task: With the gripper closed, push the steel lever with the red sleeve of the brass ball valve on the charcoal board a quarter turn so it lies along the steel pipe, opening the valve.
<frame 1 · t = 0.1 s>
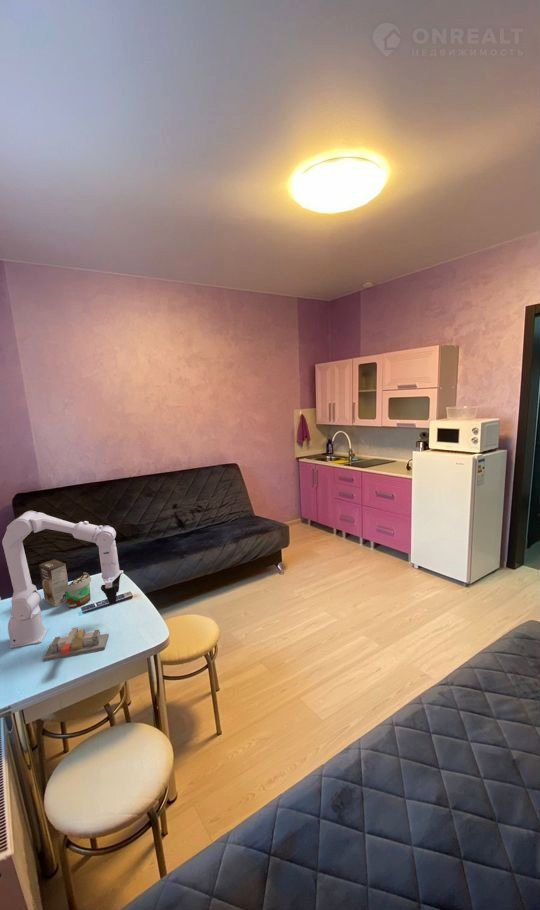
hand: (114, 597, 136), 10 cm above the table, tool pointing down, fingers open, 7 cm apart
coffee box: (57, 601, 156), on the table
food container: (83, 602, 153), on the table
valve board: (77, 648, 125), on the table
pipe and valve: (76, 640, 124), on the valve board, point 3 cm above the table
valve lever: (70, 640, 119), point 6 cm above the table, hinge at 90.0°
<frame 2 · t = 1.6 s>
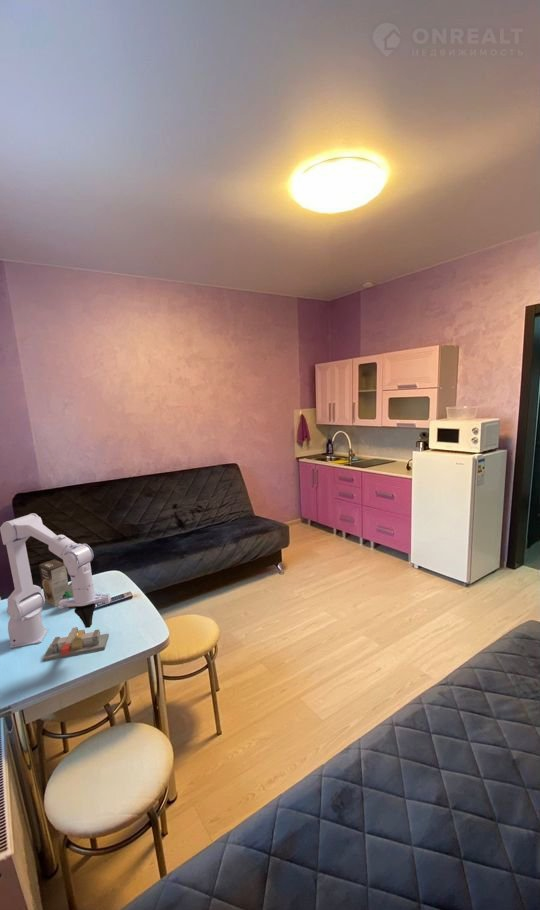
hand: (88, 625, 119), 10 cm above the table, tool pointing down, fingers closed
nothing on the table moved.
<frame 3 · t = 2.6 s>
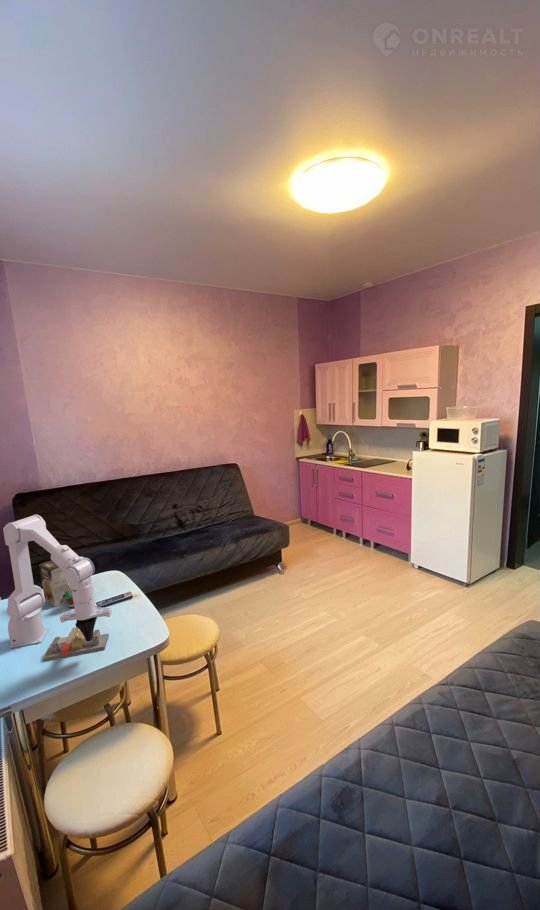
hand: (89, 639, 119), 6 cm above the table, tool pointing down, fingers closed
nothing on the table moved.
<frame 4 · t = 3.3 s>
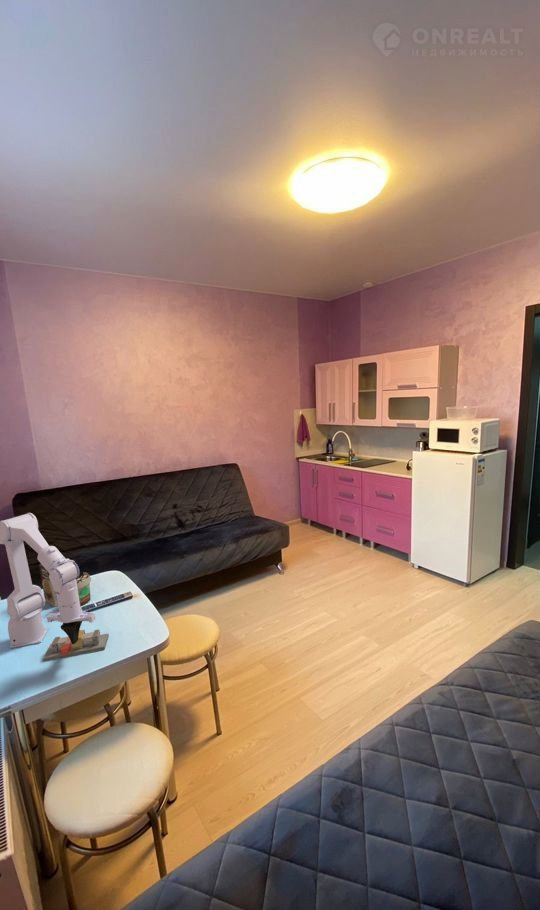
hand: (75, 642, 118), 6 cm above the table, tool pointing down, fingers closed, pressing on valve lever
valve lever: (70, 640, 119), point 6 cm above the table, hinge at 89.6°, touching gripper
everything else where it was.
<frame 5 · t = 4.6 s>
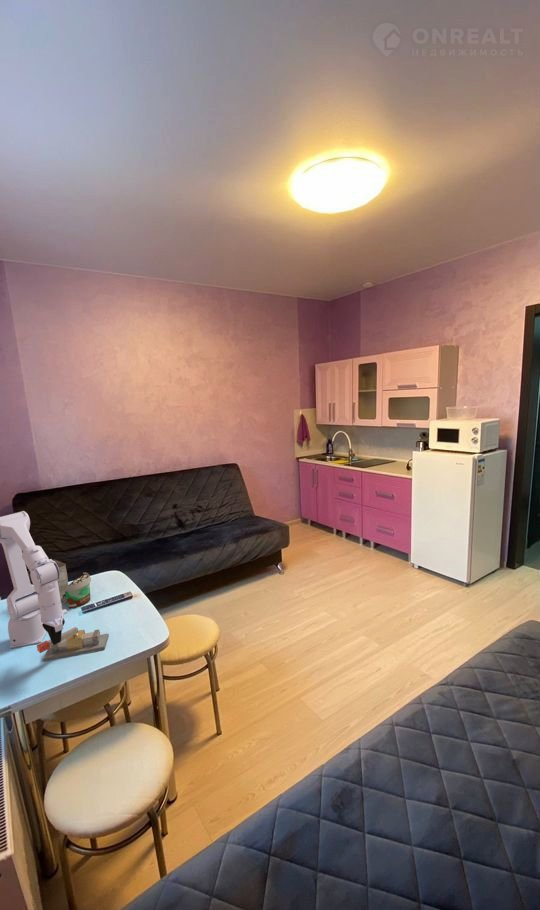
hand: (56, 642, 118), 6 cm above the table, tool pointing down, fingers closed, pressing on valve lever
valve lever: (58, 639, 120), point 6 cm above the table, hinge at 38.7°, touching gripper
everything else where it was.
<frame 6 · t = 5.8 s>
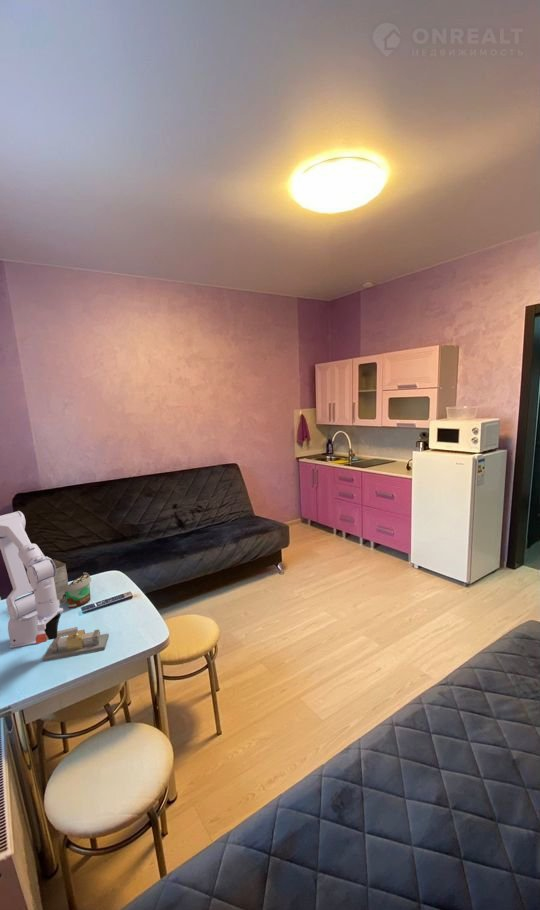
hand: (52, 638, 121), 6 cm above the table, tool pointing down, fingers closed
valve lever: (57, 635, 122), point 6 cm above the table, hinge at 5.9°, touching gripper
everything else where it was.
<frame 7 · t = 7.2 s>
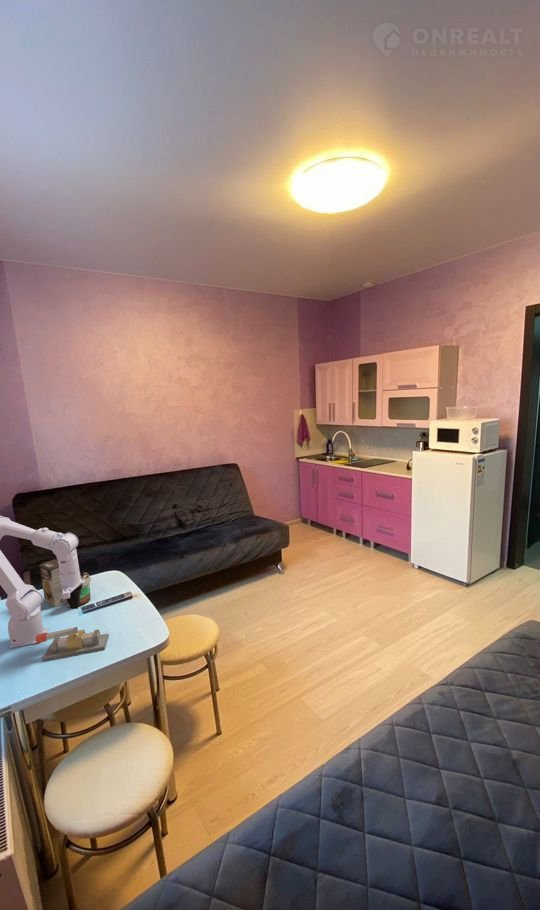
hand: (75, 608, 130), 10 cm above the table, tool pointing down, fingers closed
valve lever: (57, 635, 122), point 6 cm above the table, hinge at 4.5°
everything else where it was.
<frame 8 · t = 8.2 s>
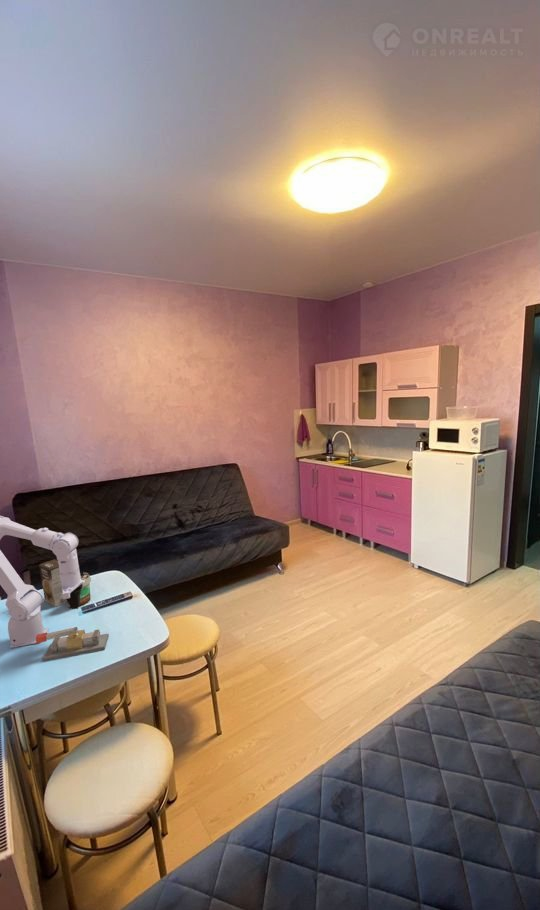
hand: (75, 608, 130), 10 cm above the table, tool pointing down, fingers closed
nothing on the table moved.
at the end: valve lever at +4° (first picture: +90°); the gripper is holding nothing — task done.
